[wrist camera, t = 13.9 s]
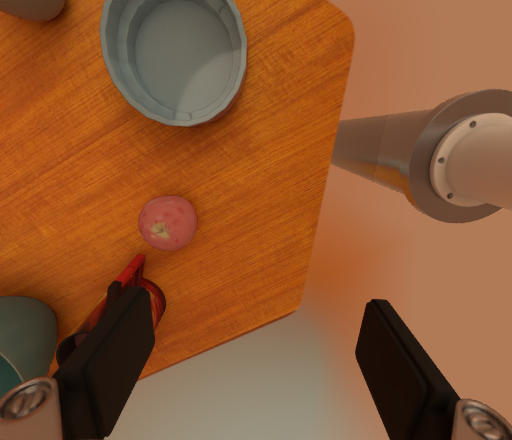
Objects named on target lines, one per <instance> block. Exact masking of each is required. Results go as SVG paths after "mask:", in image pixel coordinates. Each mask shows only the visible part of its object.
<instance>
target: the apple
mask: <svg viewBox="0 0 512 440" xmlns="http://www.w3.org/2000/svg"><path fill="white" fill-rule="evenodd" d="M138 223H139V229H140V233H141V235H142V237H143V238H144V240H145V241H146V242H147V243H148V244H149V245H151V246H153V247H154V248H157V249H159V250H164V251H173V250H177V249H180V248H182V247H184V246H186V245H187V244H188V243H189V242H190V241H191V240H192V238H193V236H194V234H195V232H196V229H197V214H196V212H195V209H194V207H193V206H192V205H191V203H189V202H188V201H187V200H186V199H184V198H182V197H179V196H174V195H168V196H160V197H156V198H154V199H152V200H150V201H148V202H147V203H146V204H145V205H144V207H143V208H142V210H141V212H140V215H139V220H138Z"/></svg>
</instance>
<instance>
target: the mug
mask: <svg viewBox="0 0 512 440" xmlns="http://www.w3.org/2000/svg"><path fill="white" fill-rule="evenodd" d="M144 258H145V255H142V254H138V255H137V256H136V257H135V258H134V259H133V260H132V261H131V263H130V264H129V265H128V266H127V267H126V268H125V270H124V271H123V272H122V273H121V274H120V275H119V276H118V277H117V278H116V279H115V280H114V281H113V282H112V284H111V285H110V286H109V287H108V291H107V292H106V293H105V294H104V295H103V296H102V297H101V299H100V300H99V301H98V302H97V303H96V304H95V305H94V306H93V307H92V308H91V310H90V311H89V312H88V313H87V314H86V315H85V316H84V317H83V318H82V319H81V321H80V322H79V323H78V324H77V325H76V326H75V327H74V328H73V329H72V330H71V332H70V333H69V334H68V335H67V336H66V337H65V338H64V339H63V340H62V342H61V343H60V344H59V346H58V348H57V351H56V359H57V363H58V365H59V367H60V366H61V365H62V364H63V363H64V362H65V360H66V359H67V358H68V357H69V356H70V354H71V353H72V352H73V351H74V350H75V349H76V347H77V346H78V345H79V344H80V343H81V342H82V340H83V339H84V338H85V337H86V336H87V334H88V333H89V332H90V331H91V330H92V329H93V327H94V326H95V325H96V324H97V323H98V322H99V321H100V320H101V319H102V318H104V316H105V315H106V314H107V313H108V312H109V310H110V309H111V308H112V307H113V306H114V304H115V303H116V302H117V301H118V300H119V299H120V297H121V296H122V295H123V294H124V293H125V291H126V290H127V289H128V288H129V287H130V286H139V287H145V288H146V290H148V291H149V292H150V299H151V308H152V317H153V326H154V331H155V329H156V327H157V325H158V323H159V321H160V319H161V317H162V315H163V313H164V311H165V307H166V300H165V296H164V294H163V292H162V291H161V290H160V288H159V287H158V286H157V285H155V284H154V283H152V282H151V281H149V280H147V279H144V278H142V274H143V265H144ZM131 276H132V277H131Z"/></svg>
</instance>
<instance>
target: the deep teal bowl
mask: <svg viewBox="0 0 512 440" xmlns="http://www.w3.org/2000/svg"><path fill="white" fill-rule="evenodd" d="M57 336H58V327H57V320H56V317H55V314H54V313H53V311H52V310H51V309H50V308H49V307H48V306H47V305H46V304H45V303H43V302H41V301H40V300H37V299H35V298H31V297H25V296H0V399H1V398H2V397H3V396H4V395H5V394H6V393H7V392H8V391H10V390H11V389H13V388H14V387H15V386H17V385H19V384H21V383H22V382H24V381H26V380H29V379H32V378H35V377H40V376H46V375H47V372H48V370H49V368H50V365H51V363H52V360H53V357H54V354H55V350H56V345H57Z"/></svg>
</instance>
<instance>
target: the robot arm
mask: <svg viewBox="0 0 512 440" xmlns="http://www.w3.org/2000/svg"><path fill="white" fill-rule="evenodd" d="M429 172H430V181H431V185H432V187H433V189H434V191H435V192H436V194H437V195H438V196H439V197H440V198H442V199H443V200H444V201H446V202H449V203H451V204H453V205H457V206H463V207H471V206H478V205H481V204H484V203H489V204H492V205H495V206H498V207H502V208H505V209H508V210H512V117H510V116H508V115H506V114H500V113H486V114H479V115H475V116H472V117H469V118H467V119H465V120H463V121H461V122H460V123H458V124H457V125H456V126H454V127H453V128H452V129H451V130H450V131H449V132H448V133H447V134H446V135H445V136H444V137H443V138H442V140H441V141H440V142H439V144H438V145H437V147H436V149H435V151H434V153H433V156H432V159H431V163H430V170H429ZM154 344H155V335H154V326H153V317H152V308H151V299H150V292H149V291H148V290H146V288H145V287H139V286H130V287H129V288H128V289H127V290H126V291H125V293H124V294H123V295H122V296H121V297H120V299H119V300H118V301H117V302H116V303H115V304H114V306H113V307H112V308H111V309H110V310H109V312H108V313H107V314H106V315H105V316H104V318H102V319H101V320H100V321H99V322H98V323H97V324H96V325H95V326H94V327H93V329H92V330H91V331H90V332H89V333H88V334H87V336H86V337H85V338H84V339H83V340H82V342H81V343H80V344H79V345H78V346H77V347H76V349H75V350H74V351H73V352H72V353H71V354H70V356H69V357H68V358H67V359H66V360H65V362H64V363H63V364H62V365H61V366H60V367H59V369H58V370H57V371H56V372H55V373H54V374H53V376H52V377H50V376H40V377H35V378H32V379H29V380H26V381H24V382H22V383H21V384H19V385H17V386H15V387H14V388H13V389H11V390H10V391H8V392H7V393H6V394H5V395H4V396H3V397H2V398H1V399H0V440H103V439H104V437H108V436H109V435H110V434H111V432H112V430H113V428H114V426H115V424H116V422H117V420H118V418H119V416H120V414H121V412H122V410H123V408H124V406H125V404H126V402H127V400H128V398H129V396H130V394H131V392H132V390H133V388H134V386H135V384H136V382H137V380H138V378H139V376H140V374H141V372H142V370H143V368H144V366H145V364H146V362H147V360H148V358H149V356H150V354H151V352H152V350H153V347H154ZM355 354H356V359H357V362H358V364H359V366H360V369H361V371H362V374H363V376H364V379H365V381H366V383H367V386H368V388H369V391H370V393H371V395H372V398H373V400H374V402H375V405H376V407H377V410H378V412H379V415H380V417H381V419H382V422H383V424H384V427H385V428H386V431H387V433H388V436H389V439H390V440H512V426H511V424H510V423H509V422H508V421H507V420H506V419H505V418H504V417H503V416H501V415H500V414H499V413H498V412H497V411H495V410H494V409H492V408H490V407H489V406H487V405H486V404H483V403H481V402H479V401H476V400H472V399H460V397H459V396H458V395H457V393H456V392H455V390H454V389H453V388H452V386H451V385H450V384H449V382H448V381H447V380H446V379H445V377H444V376H443V374H442V373H441V372H440V370H439V369H438V368H437V366H436V365H435V364H434V362H433V361H432V359H431V358H430V357H429V355H428V354H427V353H426V351H425V350H424V349H423V347H422V346H421V345H420V343H419V342H418V341H417V339H416V338H415V337H414V335H413V334H412V333H411V331H410V330H409V329H408V327H407V326H406V325H405V323H404V322H403V320H402V319H401V318H400V317H399V315H398V314H397V312H396V311H395V310H394V308H393V307H392V306H391V305H390V303H389V302H388V301H387V300H381V299H372V300H371V301H370V302H368V303H367V304H366V308H365V312H364V316H363V320H362V325H361V329H360V333H359V337H358V342H357V345H356V350H355Z"/></svg>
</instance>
